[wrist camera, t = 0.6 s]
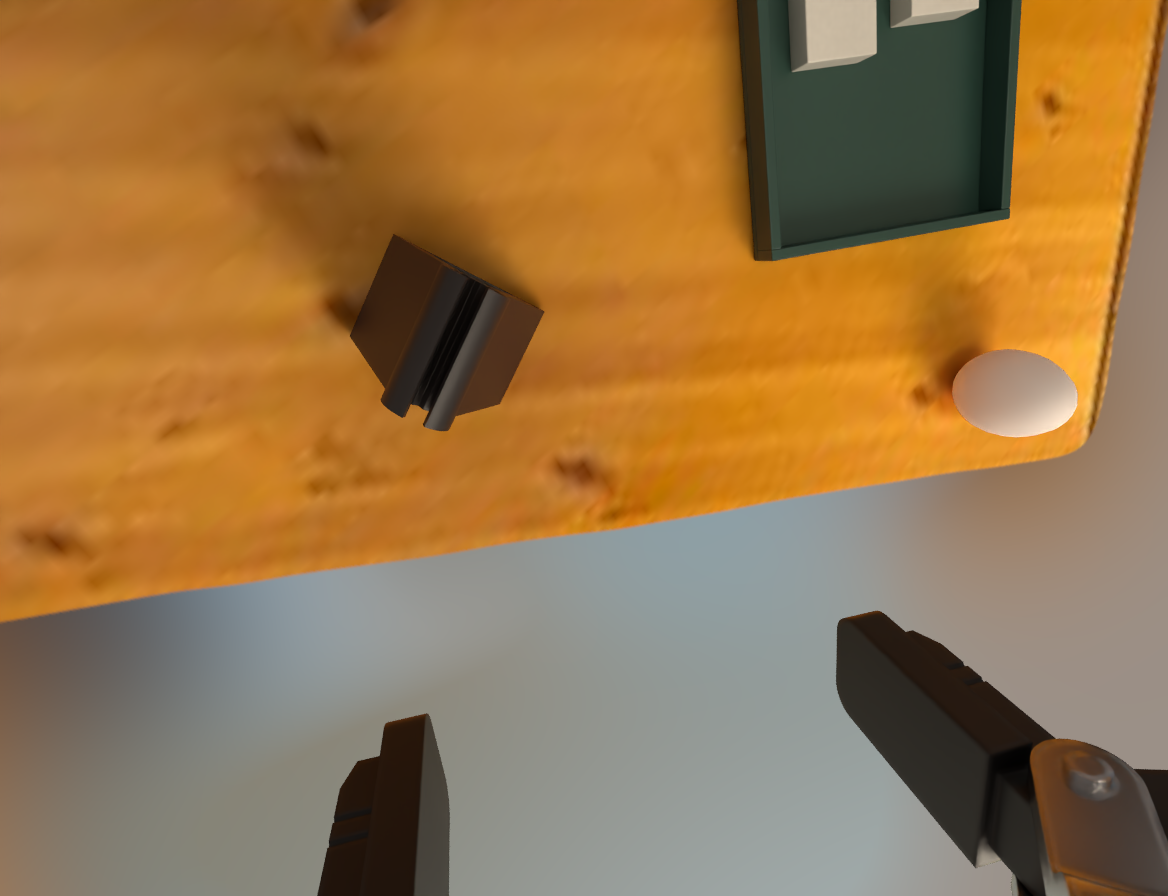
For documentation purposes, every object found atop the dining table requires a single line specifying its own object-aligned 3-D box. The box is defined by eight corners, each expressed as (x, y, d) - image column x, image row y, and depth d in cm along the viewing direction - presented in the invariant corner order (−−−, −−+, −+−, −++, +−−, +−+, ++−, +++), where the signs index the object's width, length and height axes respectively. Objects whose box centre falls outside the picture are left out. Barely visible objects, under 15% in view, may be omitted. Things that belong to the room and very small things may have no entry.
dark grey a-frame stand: (544, 311, 36) (582, 336, 25) (498, 403, 37) (516, 467, 26) (394, 233, 34) (361, 222, 22) (350, 334, 35) (297, 373, 23)
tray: (727, -134, 32) (747, -162, 29) (995, -158, 34) (1032, -186, 31) (754, 260, 38) (772, 261, 35) (979, 220, 40) (1009, 218, 37)
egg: (1006, 340, 43) (1117, 358, 35) (992, 417, 44) (1096, 449, 37) (936, 344, 42) (1035, 363, 34) (924, 422, 43) (1017, 456, 36)
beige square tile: (786, -13, 33) (804, -27, 32) (855, -21, 34) (876, -36, 32) (790, 72, 34) (807, 63, 33) (857, 63, 35) (877, 53, 33)
